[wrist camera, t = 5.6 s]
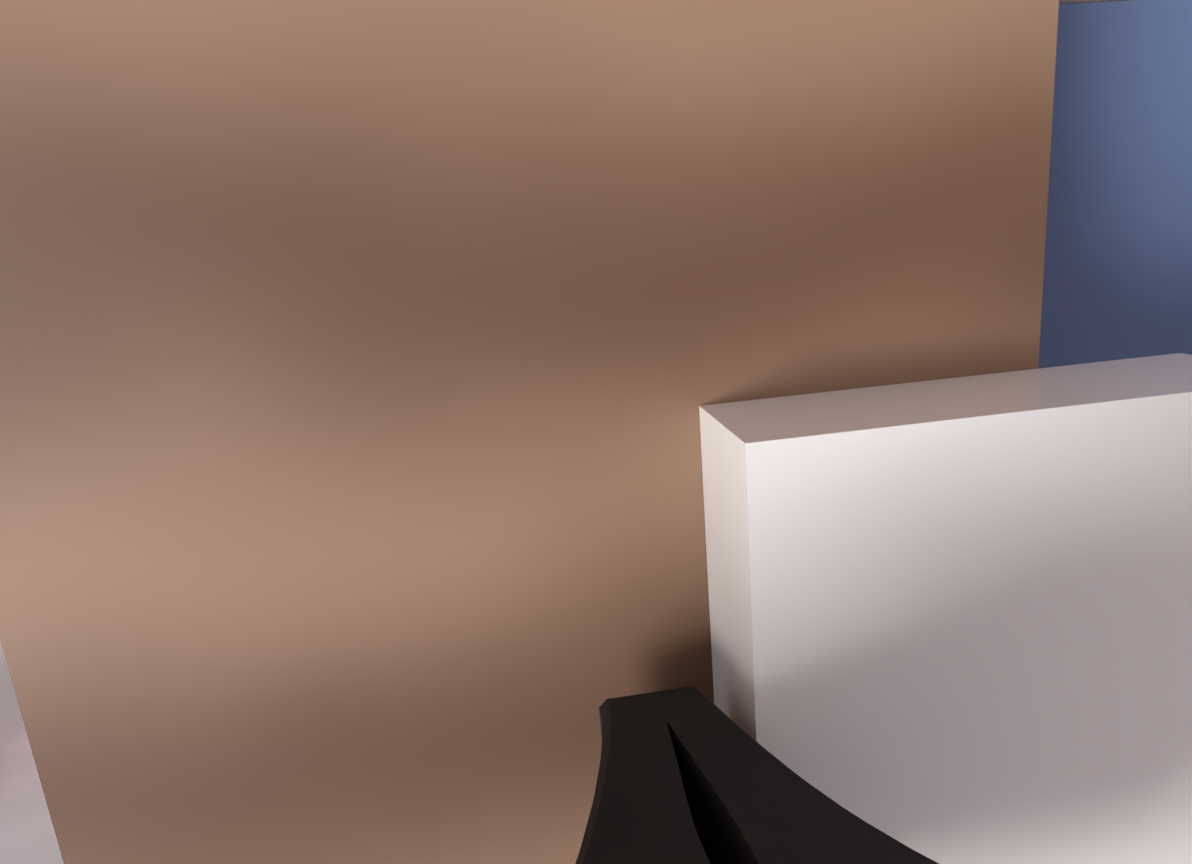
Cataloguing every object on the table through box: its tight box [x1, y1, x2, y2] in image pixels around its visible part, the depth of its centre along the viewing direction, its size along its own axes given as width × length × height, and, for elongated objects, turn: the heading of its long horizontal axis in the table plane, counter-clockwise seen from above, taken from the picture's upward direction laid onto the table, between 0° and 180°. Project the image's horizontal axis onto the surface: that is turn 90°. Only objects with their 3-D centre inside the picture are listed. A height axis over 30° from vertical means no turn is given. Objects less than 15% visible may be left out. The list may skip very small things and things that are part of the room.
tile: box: [699, 353, 1192, 864], centre depth 11 cm, size 9×7×2 cm
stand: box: [0, 0, 1059, 864], centre depth 14 cm, size 20×14×4 cm
